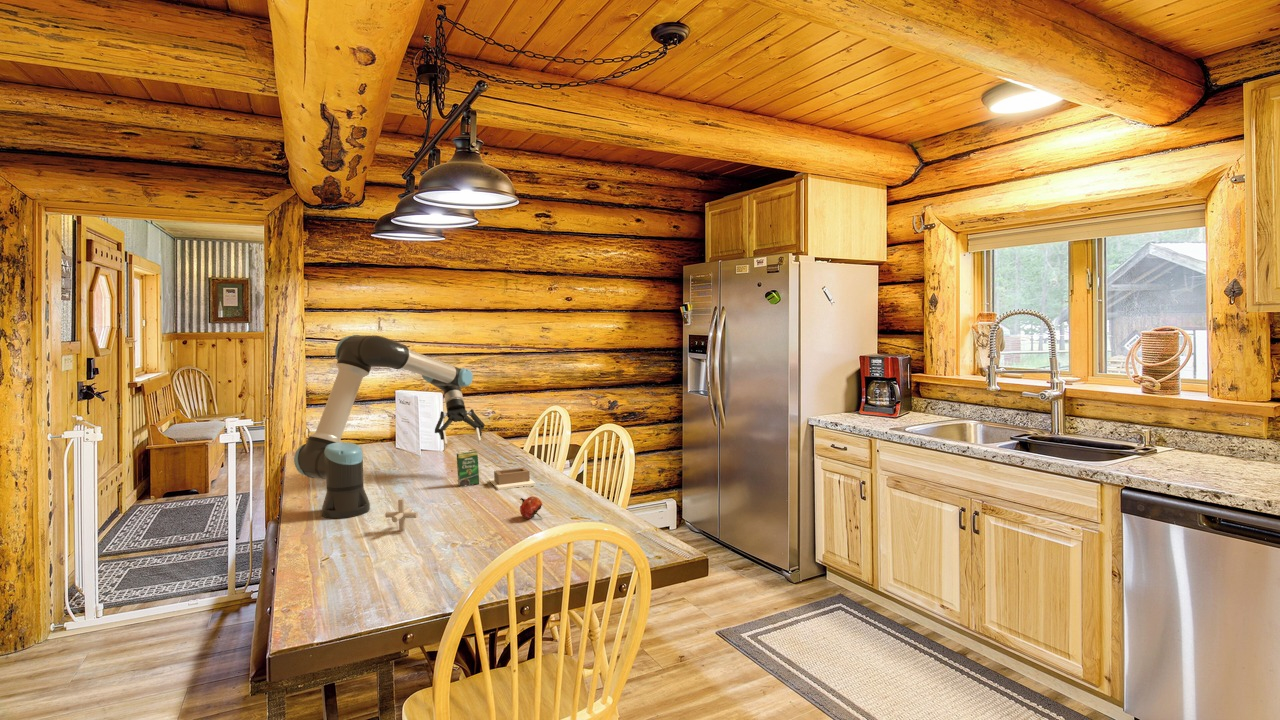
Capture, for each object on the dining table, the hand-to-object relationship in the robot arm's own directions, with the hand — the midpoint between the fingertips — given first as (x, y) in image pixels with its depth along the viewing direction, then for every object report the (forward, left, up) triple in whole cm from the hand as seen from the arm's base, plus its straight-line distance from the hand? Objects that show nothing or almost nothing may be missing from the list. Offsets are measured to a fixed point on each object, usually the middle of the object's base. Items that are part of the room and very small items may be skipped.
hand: (463, 443), depth 266 cm
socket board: (-16, -16, -15) cm, 27 cm away
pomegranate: (-63, -10, -15) cm, 65 cm away
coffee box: (-10, 0, -15) cm, 18 cm away
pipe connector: (-56, +30, -15) cm, 65 cm away
